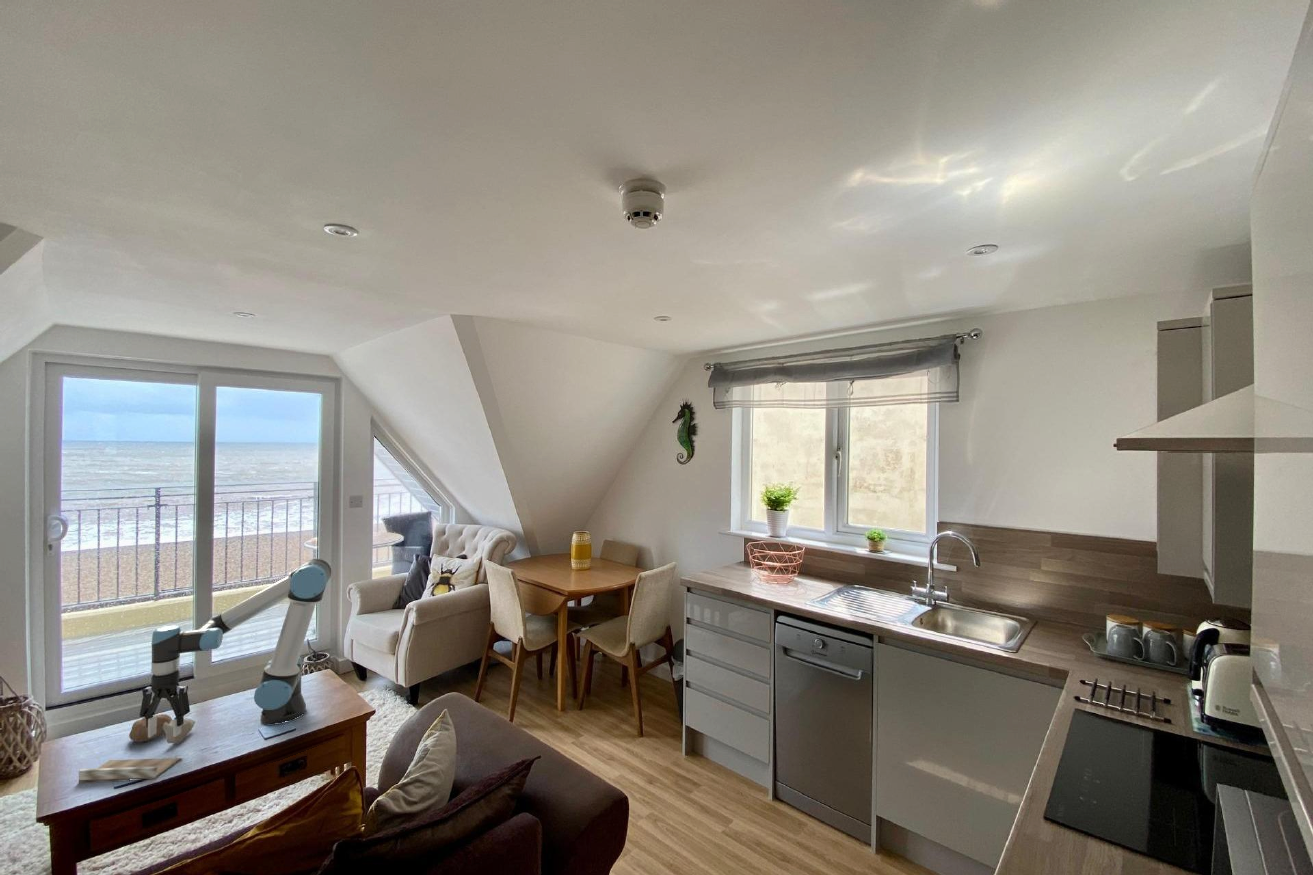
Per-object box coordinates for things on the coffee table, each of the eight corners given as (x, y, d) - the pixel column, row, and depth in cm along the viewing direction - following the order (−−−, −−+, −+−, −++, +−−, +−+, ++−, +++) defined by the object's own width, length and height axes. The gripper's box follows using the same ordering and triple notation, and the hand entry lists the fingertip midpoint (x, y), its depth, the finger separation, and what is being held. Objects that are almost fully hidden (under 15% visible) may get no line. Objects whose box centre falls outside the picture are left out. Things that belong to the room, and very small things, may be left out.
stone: (130, 753, 197) (146, 731, 197) (116, 734, 199) (132, 713, 199) (166, 739, 209) (182, 718, 209) (152, 722, 211) (168, 701, 211)
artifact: (167, 722, 196) (197, 706, 210) (158, 725, 195) (188, 709, 210) (173, 748, 195) (202, 730, 210) (163, 751, 194) (193, 733, 209)
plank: (181, 762, 189) (181, 749, 189) (154, 782, 178) (154, 768, 178) (110, 764, 187) (110, 751, 187) (78, 784, 176) (78, 770, 176)
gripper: (204, 666, 199) (203, 728, 199) (144, 667, 197) (143, 730, 197) (188, 675, 192) (187, 739, 191) (125, 676, 190) (124, 741, 190)
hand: (164, 734), depth 194 cm, fingers open, 8 cm apart
